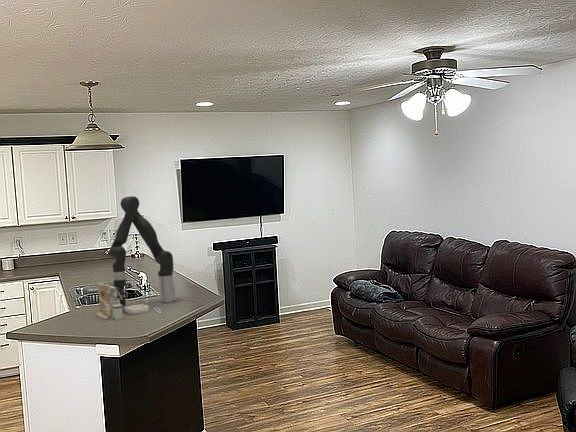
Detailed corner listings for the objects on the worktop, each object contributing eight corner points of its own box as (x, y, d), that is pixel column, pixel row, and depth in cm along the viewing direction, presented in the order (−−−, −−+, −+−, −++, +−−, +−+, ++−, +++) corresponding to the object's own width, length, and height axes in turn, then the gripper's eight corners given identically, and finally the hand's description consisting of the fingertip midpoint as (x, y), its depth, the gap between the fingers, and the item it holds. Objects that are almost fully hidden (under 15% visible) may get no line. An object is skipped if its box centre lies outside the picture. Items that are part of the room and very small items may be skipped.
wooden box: (111, 312, 373) (109, 281, 372) (121, 316, 360) (118, 284, 359) (96, 315, 367) (94, 283, 366) (105, 319, 354) (103, 286, 353)
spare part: (124, 309, 380) (123, 297, 379) (126, 310, 376) (125, 297, 376) (118, 310, 377) (117, 298, 377) (120, 311, 374) (119, 298, 373)
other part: (120, 317, 358) (119, 304, 357) (123, 318, 354) (121, 305, 354) (113, 318, 355) (112, 305, 355) (116, 320, 352) (115, 306, 351)
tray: (142, 308, 379) (141, 304, 379) (149, 311, 369) (149, 306, 369) (124, 312, 372) (123, 307, 372) (131, 314, 363) (131, 310, 362)
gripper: (129, 279, 372) (131, 305, 373) (121, 276, 383) (123, 302, 384) (117, 280, 367) (119, 307, 368) (109, 278, 379) (111, 304, 380)
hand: (121, 304), depth 376 cm, fingers open, 8 cm apart
